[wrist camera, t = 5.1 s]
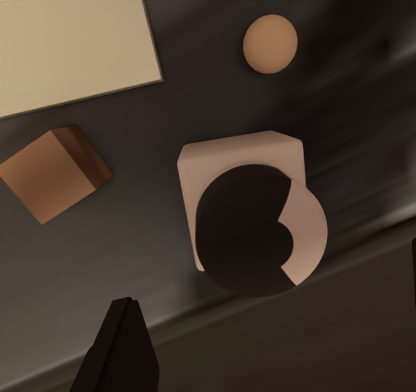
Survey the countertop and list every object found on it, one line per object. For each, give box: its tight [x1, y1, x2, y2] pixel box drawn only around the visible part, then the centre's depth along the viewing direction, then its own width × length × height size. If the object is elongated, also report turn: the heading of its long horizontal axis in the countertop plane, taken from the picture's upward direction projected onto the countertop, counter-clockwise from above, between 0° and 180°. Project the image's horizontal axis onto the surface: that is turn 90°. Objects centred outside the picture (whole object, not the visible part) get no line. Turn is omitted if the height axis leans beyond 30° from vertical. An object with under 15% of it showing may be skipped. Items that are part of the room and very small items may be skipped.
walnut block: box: [0, 126, 113, 225], centre depth 22 cm, size 4×4×4 cm
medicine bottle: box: [177, 130, 327, 297], centre depth 19 cm, size 7×7×12 cm
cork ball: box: [243, 15, 297, 74], centre depth 21 cm, size 4×4×4 cm
